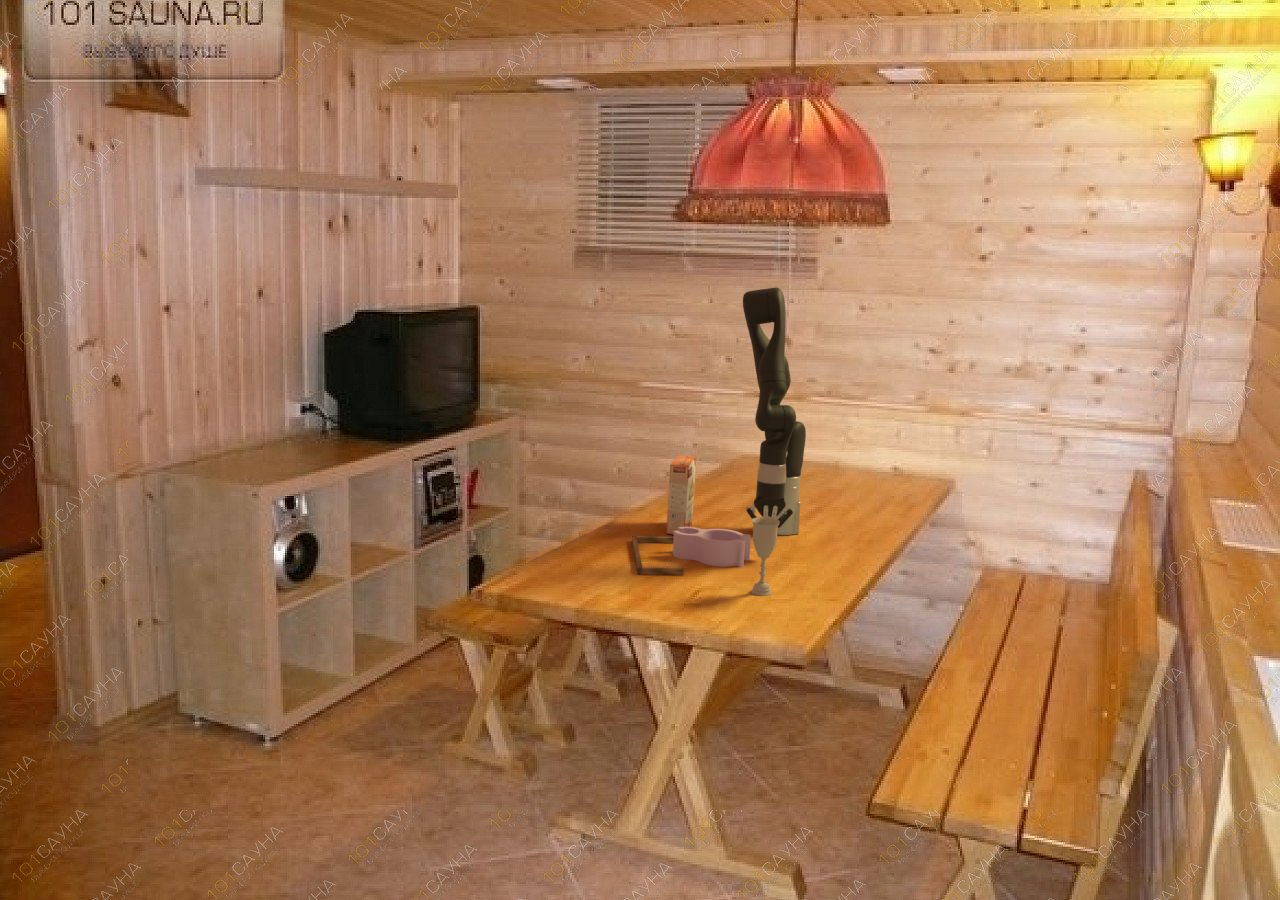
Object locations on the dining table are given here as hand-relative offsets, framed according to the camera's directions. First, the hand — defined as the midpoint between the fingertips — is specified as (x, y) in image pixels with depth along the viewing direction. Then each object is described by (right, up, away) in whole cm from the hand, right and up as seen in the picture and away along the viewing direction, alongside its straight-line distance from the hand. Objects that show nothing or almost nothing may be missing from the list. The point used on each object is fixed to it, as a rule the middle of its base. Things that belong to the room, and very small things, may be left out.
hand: (766, 542), depth 290 cm
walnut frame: (-30, -4, -1) cm, 30 cm away
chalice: (-4, -10, -26) cm, 28 cm away
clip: (-15, -5, +1) cm, 16 cm away
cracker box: (-22, +1, +27) cm, 35 cm away
